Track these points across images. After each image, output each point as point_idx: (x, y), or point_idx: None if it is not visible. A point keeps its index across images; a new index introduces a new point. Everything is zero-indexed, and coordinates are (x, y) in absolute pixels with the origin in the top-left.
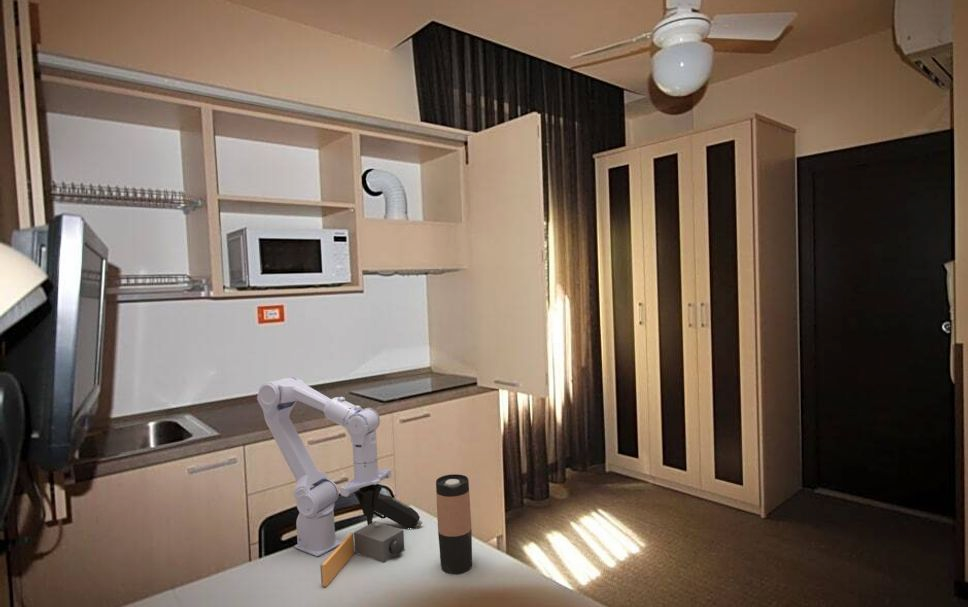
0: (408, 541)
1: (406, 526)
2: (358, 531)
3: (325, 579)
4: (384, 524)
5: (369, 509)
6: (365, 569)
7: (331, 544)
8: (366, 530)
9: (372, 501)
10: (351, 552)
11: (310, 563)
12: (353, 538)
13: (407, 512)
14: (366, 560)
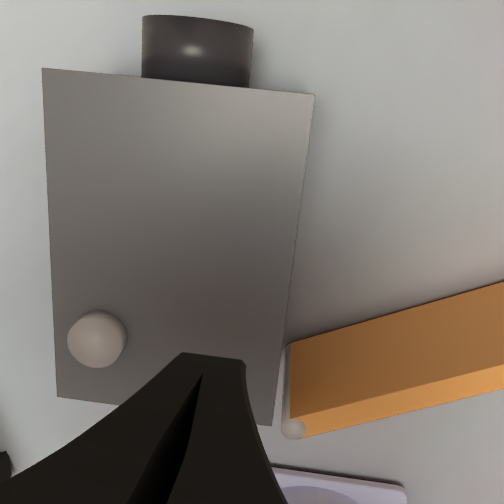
0: (11, 132)
1: None
2: None
3: None
4: (56, 298)
5: (249, 410)
6: (424, 149)
7: (304, 496)
8: None
9: (145, 480)
10: (330, 342)
11: (470, 475)
12: (289, 395)
13: None
14: (327, 221)
